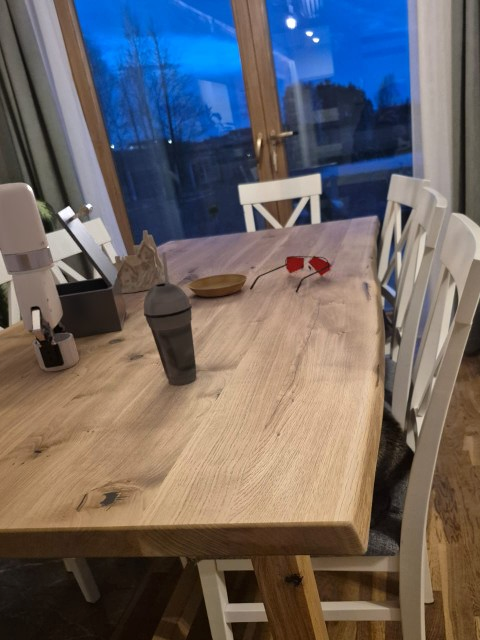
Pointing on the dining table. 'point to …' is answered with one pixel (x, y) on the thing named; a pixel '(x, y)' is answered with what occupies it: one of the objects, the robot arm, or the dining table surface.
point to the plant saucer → (218, 285)
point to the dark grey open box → (91, 307)
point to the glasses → (298, 263)
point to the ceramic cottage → (140, 267)
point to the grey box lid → (87, 242)
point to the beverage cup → (172, 329)
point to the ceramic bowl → (66, 349)
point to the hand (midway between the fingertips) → (58, 358)
